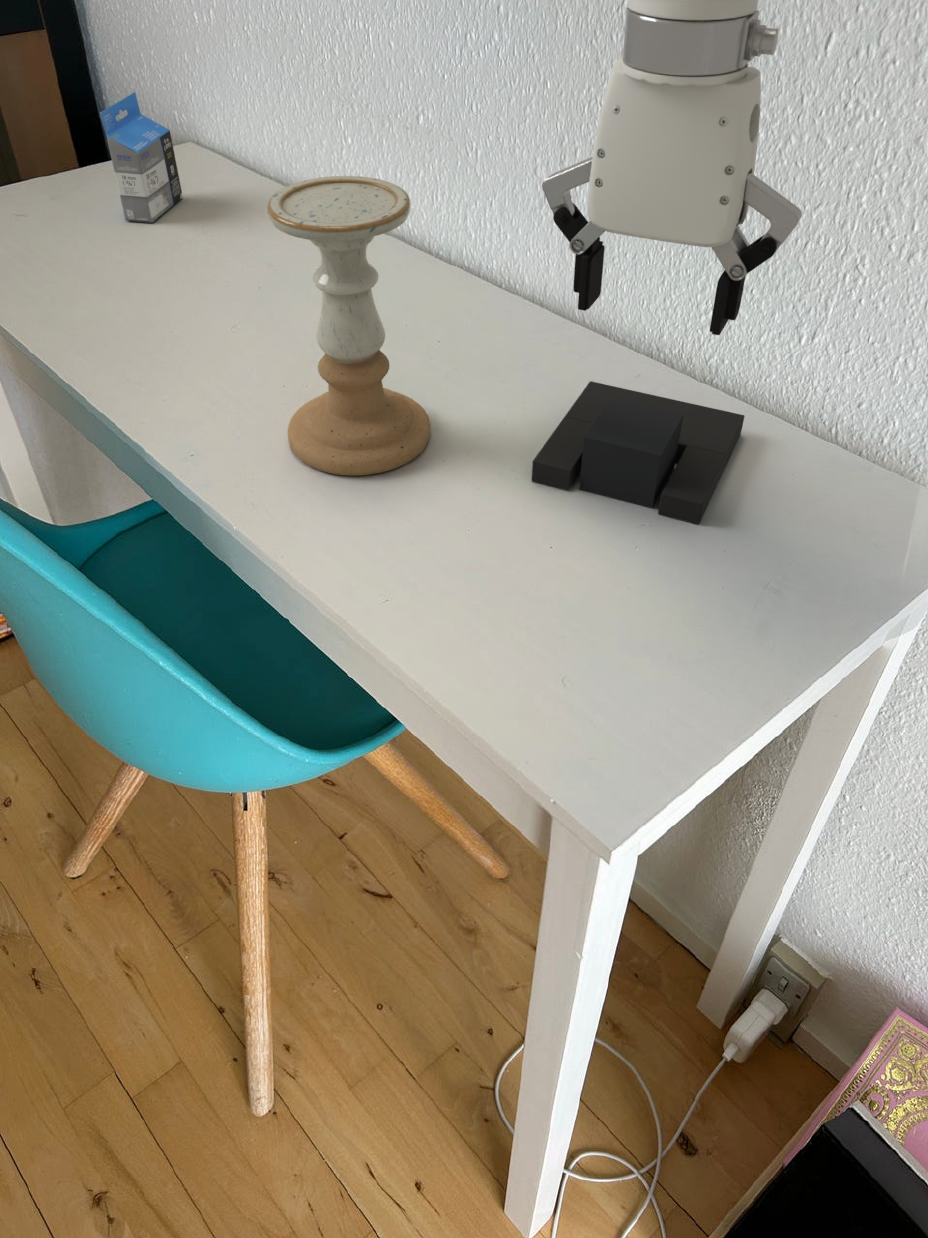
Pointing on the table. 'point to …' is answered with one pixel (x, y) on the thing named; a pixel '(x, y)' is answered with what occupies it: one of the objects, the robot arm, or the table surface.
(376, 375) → the candle holder
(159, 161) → the ink cartridge box
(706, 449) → the base pad
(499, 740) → the table surface
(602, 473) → the black cube block
